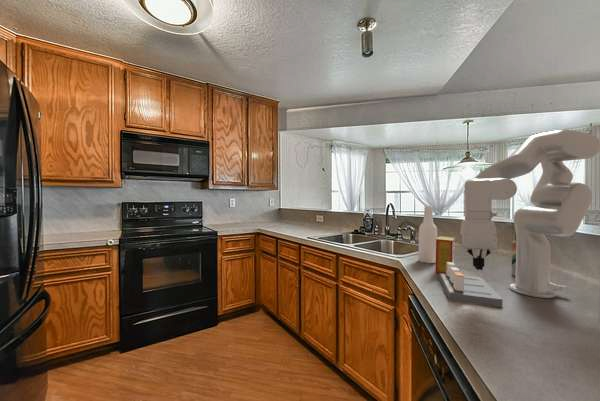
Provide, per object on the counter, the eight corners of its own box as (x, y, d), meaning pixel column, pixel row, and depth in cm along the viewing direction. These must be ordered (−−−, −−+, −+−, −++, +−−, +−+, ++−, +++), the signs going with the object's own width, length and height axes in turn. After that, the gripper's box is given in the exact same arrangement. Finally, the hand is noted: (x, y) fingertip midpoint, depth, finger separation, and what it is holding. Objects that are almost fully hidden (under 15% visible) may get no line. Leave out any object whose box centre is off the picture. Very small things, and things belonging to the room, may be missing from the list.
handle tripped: (461, 287, 94) (461, 272, 93) (464, 291, 90) (464, 275, 90) (453, 286, 94) (453, 271, 94) (455, 290, 91) (456, 275, 91)
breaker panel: (480, 283, 107) (481, 277, 107) (502, 307, 84) (502, 299, 84) (439, 278, 112) (439, 272, 112) (449, 300, 90) (449, 292, 90)
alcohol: (433, 260, 144) (434, 205, 144) (438, 264, 136) (440, 206, 135) (416, 259, 146) (417, 205, 145) (420, 263, 137) (421, 205, 137)
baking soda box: (451, 275, 117) (452, 239, 117) (435, 272, 121) (436, 238, 121) (454, 270, 125) (455, 237, 124) (439, 268, 129) (439, 235, 128)
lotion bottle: (521, 274, 119) (523, 230, 119) (531, 278, 114) (532, 232, 113) (508, 273, 120) (509, 230, 120) (517, 277, 114) (518, 232, 114)
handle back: (453, 274, 109) (453, 262, 108) (455, 277, 105) (455, 265, 105) (446, 273, 109) (446, 261, 109) (447, 276, 106) (448, 264, 106)
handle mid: (457, 280, 101) (457, 267, 101) (459, 283, 97) (459, 270, 97) (449, 279, 102) (449, 266, 102) (451, 283, 98) (451, 269, 98)
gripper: (500, 214, 91) (500, 267, 91) (450, 214, 96) (451, 264, 97) (508, 216, 84) (509, 273, 84) (455, 216, 89) (455, 270, 90)
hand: (478, 268), depth 90 cm, fingers closed
